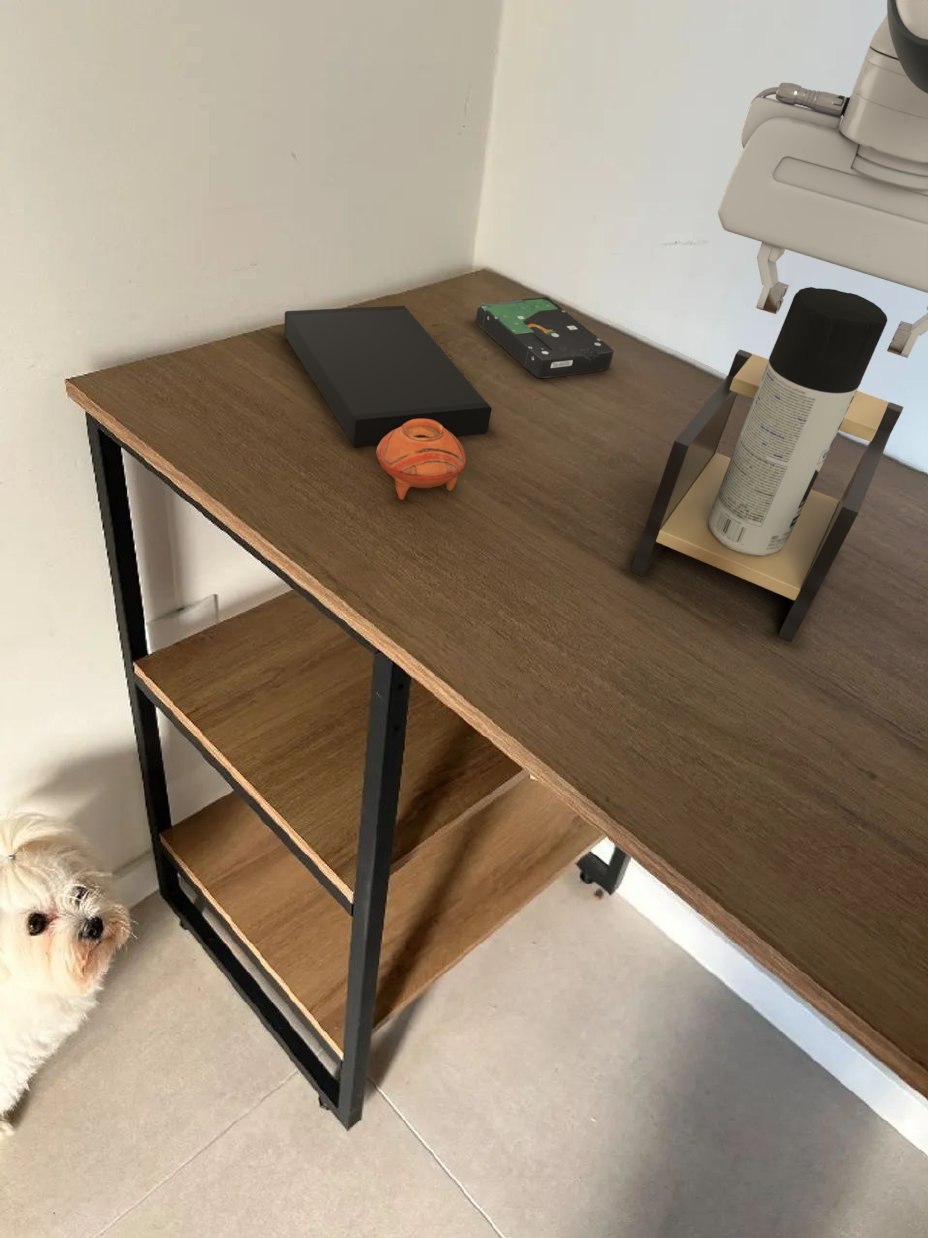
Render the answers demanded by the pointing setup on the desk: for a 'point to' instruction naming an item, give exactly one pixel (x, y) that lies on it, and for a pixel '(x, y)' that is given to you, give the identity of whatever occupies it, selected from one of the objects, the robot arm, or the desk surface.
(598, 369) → the disk drive
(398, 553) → the desk surface
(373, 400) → the external hard drive
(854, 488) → the shelf
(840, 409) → the spray can
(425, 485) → the pot
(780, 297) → the robot arm
